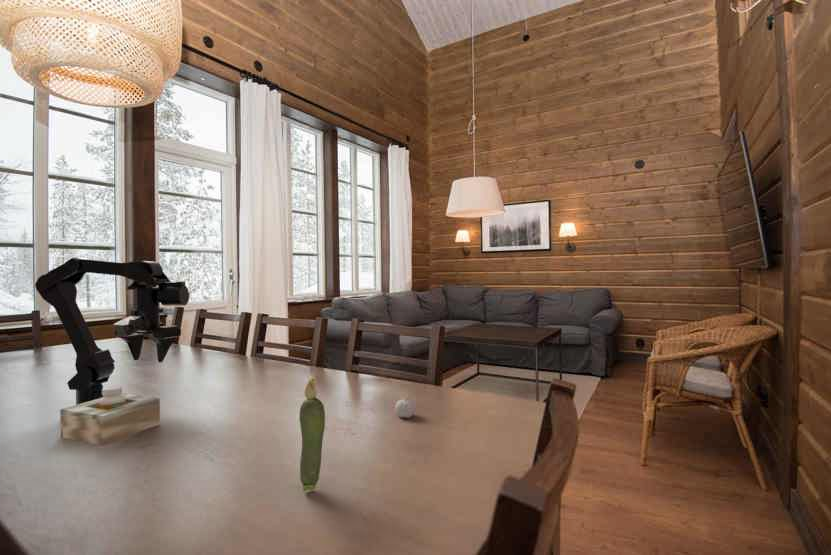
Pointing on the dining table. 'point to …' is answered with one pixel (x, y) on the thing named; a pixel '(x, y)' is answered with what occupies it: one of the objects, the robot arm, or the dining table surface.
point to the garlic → (405, 408)
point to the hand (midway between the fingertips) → (148, 361)
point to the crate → (109, 419)
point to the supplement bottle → (112, 398)
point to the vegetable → (311, 437)
